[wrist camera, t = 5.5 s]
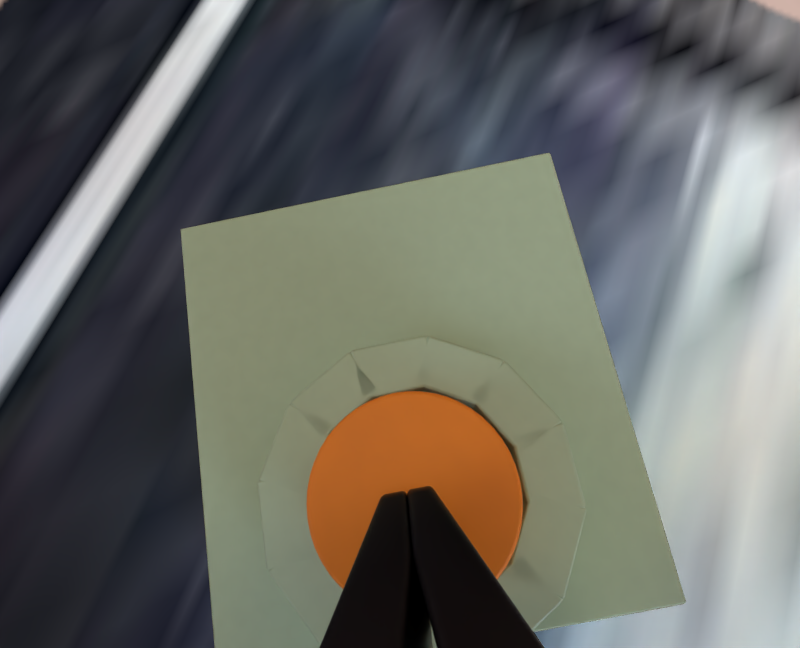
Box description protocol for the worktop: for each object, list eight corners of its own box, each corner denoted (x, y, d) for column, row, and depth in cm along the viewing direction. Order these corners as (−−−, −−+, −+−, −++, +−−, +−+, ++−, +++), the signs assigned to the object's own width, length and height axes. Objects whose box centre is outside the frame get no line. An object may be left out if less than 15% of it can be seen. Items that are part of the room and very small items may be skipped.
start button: (529, 573, 11) (548, 597, 9) (343, 608, 11) (321, 639, 9) (485, 388, 12) (495, 371, 10) (317, 421, 12) (292, 412, 10)
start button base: (616, 565, 17) (728, 626, 10) (281, 628, 17) (180, 728, 11) (524, 229, 20) (564, 111, 14) (243, 286, 21) (147, 198, 14)
